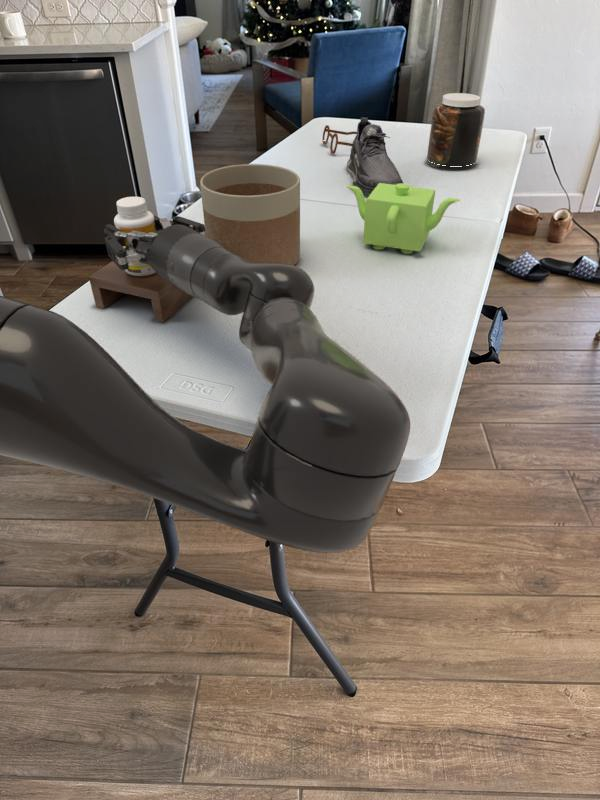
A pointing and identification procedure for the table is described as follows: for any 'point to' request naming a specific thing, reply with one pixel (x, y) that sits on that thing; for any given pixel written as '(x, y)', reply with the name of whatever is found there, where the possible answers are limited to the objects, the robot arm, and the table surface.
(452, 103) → the jar
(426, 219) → the teapot
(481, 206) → the table surface
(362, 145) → the shoe
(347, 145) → the glasses
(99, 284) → the shelf
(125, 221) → the supplement bottle
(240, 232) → the planter
